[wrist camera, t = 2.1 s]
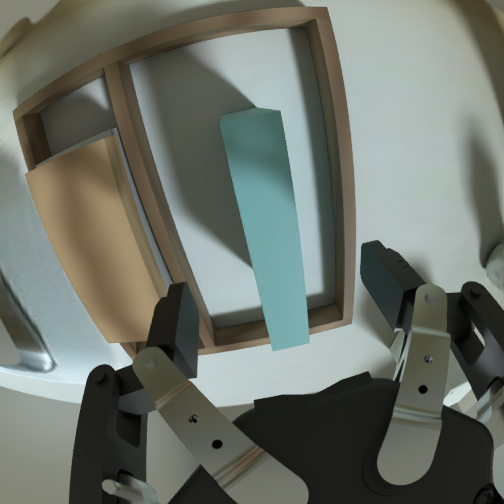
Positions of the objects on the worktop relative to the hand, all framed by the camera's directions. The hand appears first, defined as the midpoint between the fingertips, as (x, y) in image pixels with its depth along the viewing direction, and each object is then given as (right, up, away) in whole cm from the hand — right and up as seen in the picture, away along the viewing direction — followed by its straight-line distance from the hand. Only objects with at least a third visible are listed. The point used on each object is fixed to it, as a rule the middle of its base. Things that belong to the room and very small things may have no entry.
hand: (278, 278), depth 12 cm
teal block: (-1, +5, +9) cm, 11 cm away
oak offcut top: (-12, +1, +7) cm, 14 cm away
